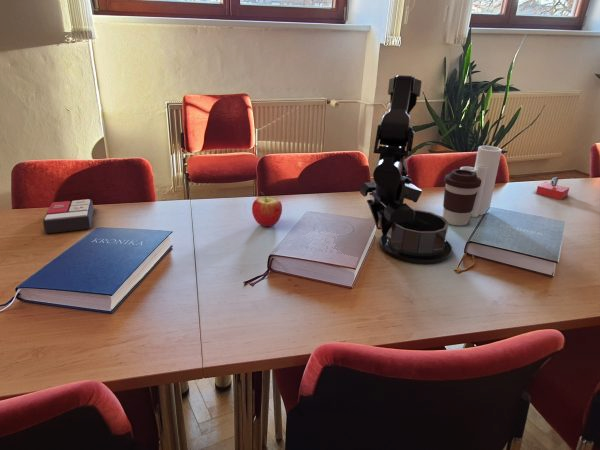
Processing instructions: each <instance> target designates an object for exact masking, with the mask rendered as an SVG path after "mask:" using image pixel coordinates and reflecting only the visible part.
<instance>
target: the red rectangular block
mask: <svg viewBox="0 0 600 450" xmlns="http://www.w3.org/2000/svg"><path fill="white" fill-rule="evenodd" d="M558 182H559V177H558V176H555V177H552V179H551V180H550V182H547V181H545V182H543V183H540V184H539V185H537V187H536V191H535V194H536V195H539V196H544V197H548V198H551V199H556V200H559V201H560V200H563V199H564V198H565V197H568V194H569V191H570V187H568V186H563V185H559V184H558Z"/></svg>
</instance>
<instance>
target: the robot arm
mask: <svg viewBox="0 0 600 450" xmlns="http://www.w3.org/2000/svg"><path fill="white" fill-rule="evenodd" d="M421 91H422V80H420V79H419V78H416V76H413V75H403V74H402V75H401V74H398V75H394V77H392V78H389V81H388V89H387V95H388V96H390V97H389V98H390V99H389V103H390V107H389V109H388V110H389V111H388V112H386V113H385V114H383V115H382V118H381V122H380V123H378V124H377V128H376V133H375V134H376V135H375V141H374V148H373V154H378V155H379V156H378V157H379V158H378V161H377V163H376V165H375V167H374V171H373V174H372V178H373V181H370V182H363V183H362V185H360V191H359V193H360V195H362V197H367V196H368V195H369V199H367V200H366V203H367V205H368V207H369V211H370V213H371V216H372V218H373V220H374V223H375V226H376V229H377V230H379V231H381V234H382V235H386V234H387V233H388V231H389V229H390V227H391V226H392V224H393V223H395V222H405V221H413V220H414V217H415V211H414V210H415V209H413V208H412V207H411V206H409V205H408V204H407V203H406V202H405V200H409V201H412V202H413V203H417V202H418V200H419V199H420V197H421V195H422V192H423V190H422V189H421V188H419V187H418V186H417V185H415V184H413V183H412V179H411V176H410V174H409V166H408V165H407V162H406V160H405V157H409V154H410V153H409V152H412V150H413V144H414V138H415V137H414V136H415V131H414V128H413V126H410V124H411V116H410V114H411V112H412V111H413V109H414V108H415V106H416V105H417V101H418V98H419V97H421ZM378 220H379V222H380V227H381V228H379V227H378Z"/></svg>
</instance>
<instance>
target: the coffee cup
mask: <svg viewBox="0 0 600 450" xmlns="http://www.w3.org/2000/svg"><path fill="white" fill-rule="evenodd" d="M443 182H444V183H445V187H444V192H443V203H442V207H443V212H442V217H443V218H444V219H445V220H446V221H447V222H448V223H449V225H452V226H465V225H468V224H469V221H470V218H471V216H470V214H471V211H472V210H473V206H474V203H475V199H476V195H477V189H478V187H480V185H481V179H480V178H478V177H477V174H476V173H475V172H472V171H469V170H461V169H460V168H459V169H458V168H457V169H453V170H451V172H449V173H447V174H445V175H444V180H443Z"/></svg>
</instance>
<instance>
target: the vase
mask: <svg viewBox="0 0 600 450" xmlns="http://www.w3.org/2000/svg"><path fill="white" fill-rule="evenodd" d="M502 151H503V149H502V148H500V147H497V146H493V145H479V146H478V147H477V151H476V158H475V163H474V167H473V166H460V168H459V169H461V170H469V171H472V172H475V173H476V174H477V177H478V178H480V179H481V185H480V187H478V189H477V195H476V199H475V203H474V206H473V210H472V211H471V214H470V218H472V217H473V218H477V217H479V216H484V215H483V214H484V213H485V211H486V209H487V208H489V207H490V208H491V203H492V199H493V193H494V189H495V185H496V179H497V175H498V171H499V166H500V161H501V156H502ZM490 208H489V209H490Z"/></svg>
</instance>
